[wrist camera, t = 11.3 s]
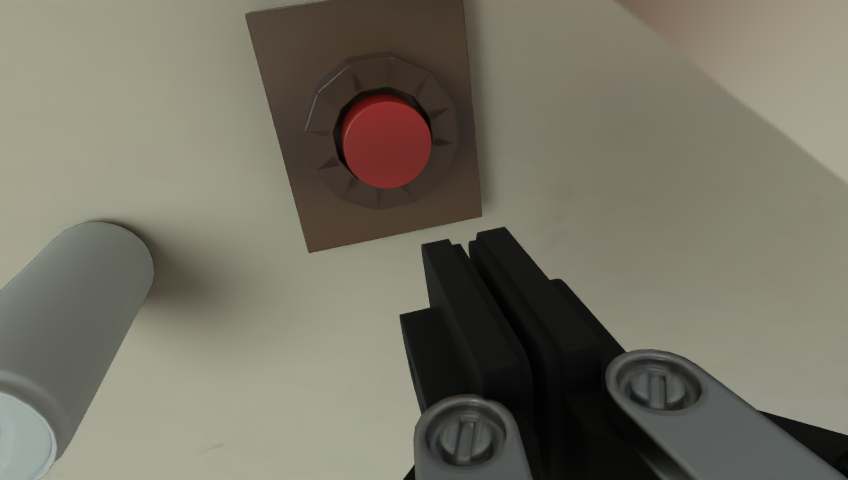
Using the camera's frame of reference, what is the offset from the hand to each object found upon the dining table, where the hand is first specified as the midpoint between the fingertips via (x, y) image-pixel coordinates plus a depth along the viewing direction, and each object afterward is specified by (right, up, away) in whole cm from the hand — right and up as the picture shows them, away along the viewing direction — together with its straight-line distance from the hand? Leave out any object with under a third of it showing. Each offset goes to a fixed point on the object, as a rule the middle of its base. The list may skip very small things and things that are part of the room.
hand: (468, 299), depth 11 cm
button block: (-3, +7, +15) cm, 17 cm away
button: (-3, +6, +12) cm, 14 cm away
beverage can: (-17, 0, +16) cm, 23 cm away
